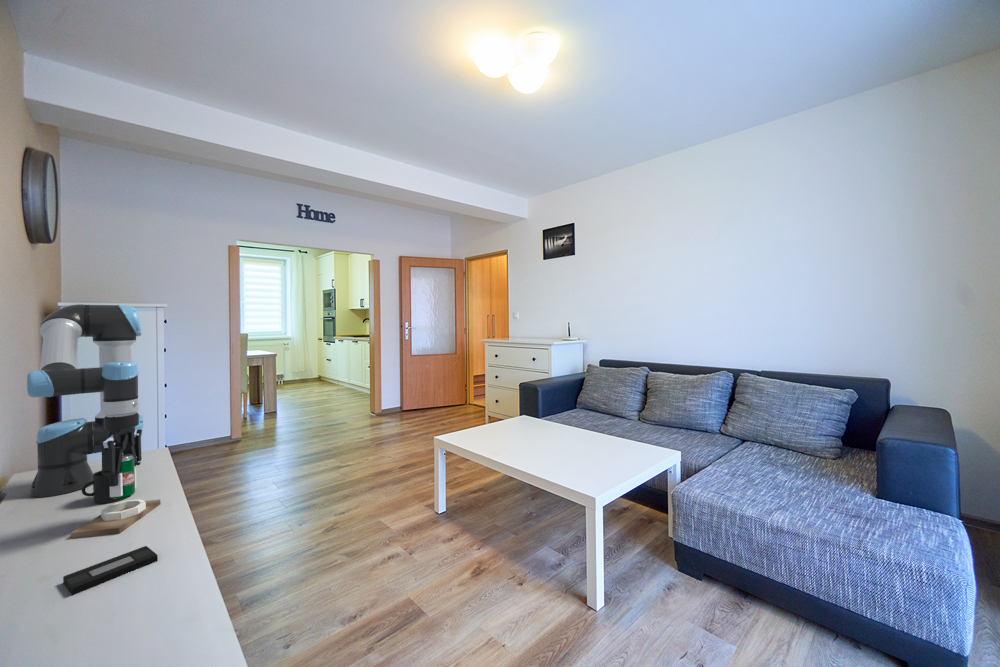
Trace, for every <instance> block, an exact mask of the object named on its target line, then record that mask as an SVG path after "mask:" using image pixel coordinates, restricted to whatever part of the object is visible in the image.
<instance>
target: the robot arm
mask: <svg viewBox="0 0 1000 667" xmlns="http://www.w3.org/2000/svg"><path fill="white" fill-rule="evenodd" d="M139 317H140V316H139V314H138V311H137V309H136V308H135V307H134V306H130V305H120V304H117V305H116V304H82V303H79V304H78V303H77V304H72V305H67V306H64V307H61V308H59V309H56V310H54V311H53V312H51V313H49V314H48V315H47V316H45V318H43V319H42V321H41V323H40V325H39V334H40V336H41V338H42V339H43V340H42V348H41V354H40V355H41V357H40V365H39V366H40V367H39V369H38V370H34V371H30V372H28V374H26V389H27V395H28V396H29V397H31V398H46V397H47V398H51V397H52V398H53V397H61V396H72V395H80V394H82V395H83V394H94V393H99V396H100V398H99V399H100V403H99V404H100V411H98V413H97V414H95V416H94V420H93V421H88V420H87V419H86V418H82V417H80V418H72V419H67V420H62V421H61V420H60V421H57V422H54V423H50V424H47V425H45V426H42V427H40V429H38V430H37V435H36V436H37V437H36V442H35V443H36V444H37V472H36V475H35V477H34V479H33V481H32V484H31V487H30V496H31V497H34V498H44V497H45V498H46V497H53V496H59V495H65V494H69V493H73V492H75V491H80V490H82V488H83V486H84V485H85V484H87V483H89V482H91V481H93V474H94V472H93V470H92V468H91V467H90V465H89V462H88V455H92V454H98V453H101V470H102V475H104V476H107V475H108V476H109V486H110V497H119V496H122V495H123V481H122V473H120V468H121V461H122V455H123V454H132V456H133V457H134V463H135V489H136V488H137V466H140V465H141V462H142V434H143V426H144V416H143V415H141V414H139V405H140V402H139V370H138V363H137V362H135V361H132V345H133V344H134V343H136V342H137V337H140V336H142V328H141V322H140V318H139ZM79 338H92V342H93V343H94V345H97V346H98V354H99V355H98V356H99V357H98V360H99V362H98V365H99V367H87V368H86V367H83V368H78V351H79V350H78V348H79V346H78V345H79V344H78V342H79V341H78V339H79ZM90 486H91V485H89V486H87V487H86V488H88V487H90Z"/></svg>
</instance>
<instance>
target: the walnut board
mask: <svg viewBox="0 0 1000 667" xmlns="http://www.w3.org/2000/svg"><path fill="white" fill-rule="evenodd" d="M144 501H145V502H146V509H144V510H143V511H142V512H140V513H139V514H137V515H134V516H130V517H127V518H124V519H120V520H111V521H104V520H103V519H102V518H101V514H99V515H98V516H96V517H95V518H92V519H91V520H90V521H88V522H87V523H85V524H83V525H81V526H80V527H78V528H76V529H74V530H73V531H72V532H70V538H71V539H76V538H77V539H78V538H87V537H98V536H106V535H107V536H108V535H116V534H117V535H119V534H121V533H122V532H123V531H125V530H127V529H128V528H129V527H131V526H133V524H135V523H136V522H138V521H139V520H140V519H141V518H143V517H145V516H146V515H147V514H148V513H150V512H152V511H154V510H155V509H156V508H157V507H159V506H160V505H161V499H151V500H149V499H148V500H144ZM133 508H134V507H133ZM127 509H130V508H125V509H122V510H118V511H124V510H127ZM118 511H115V512H118Z"/></svg>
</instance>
